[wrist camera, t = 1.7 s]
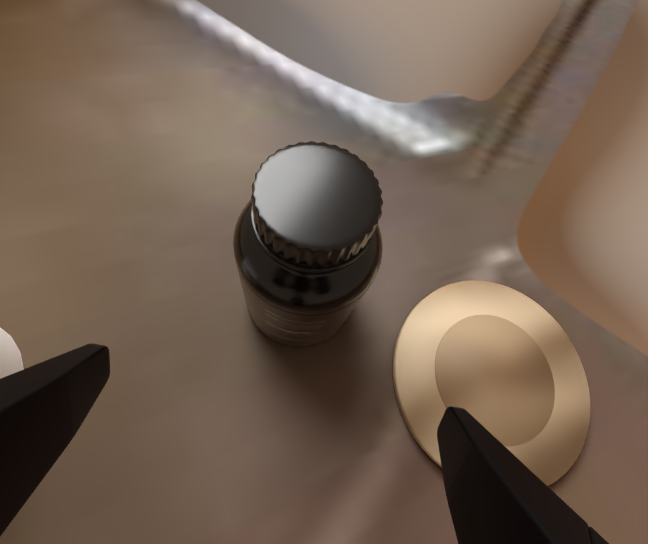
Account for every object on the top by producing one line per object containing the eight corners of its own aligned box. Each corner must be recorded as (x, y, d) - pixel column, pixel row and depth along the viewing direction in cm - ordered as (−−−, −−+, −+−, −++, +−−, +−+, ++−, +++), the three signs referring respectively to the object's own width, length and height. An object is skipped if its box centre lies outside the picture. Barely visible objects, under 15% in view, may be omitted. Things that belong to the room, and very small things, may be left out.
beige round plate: (617, 410, 23) (630, 410, 23) (481, 543, 20) (490, 549, 19) (492, 255, 27) (499, 249, 26) (353, 342, 23) (356, 340, 22)
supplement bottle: (368, 294, 24) (448, 196, 13) (302, 371, 22) (331, 330, 11) (294, 232, 25) (311, 92, 14) (223, 298, 23) (176, 192, 12)
